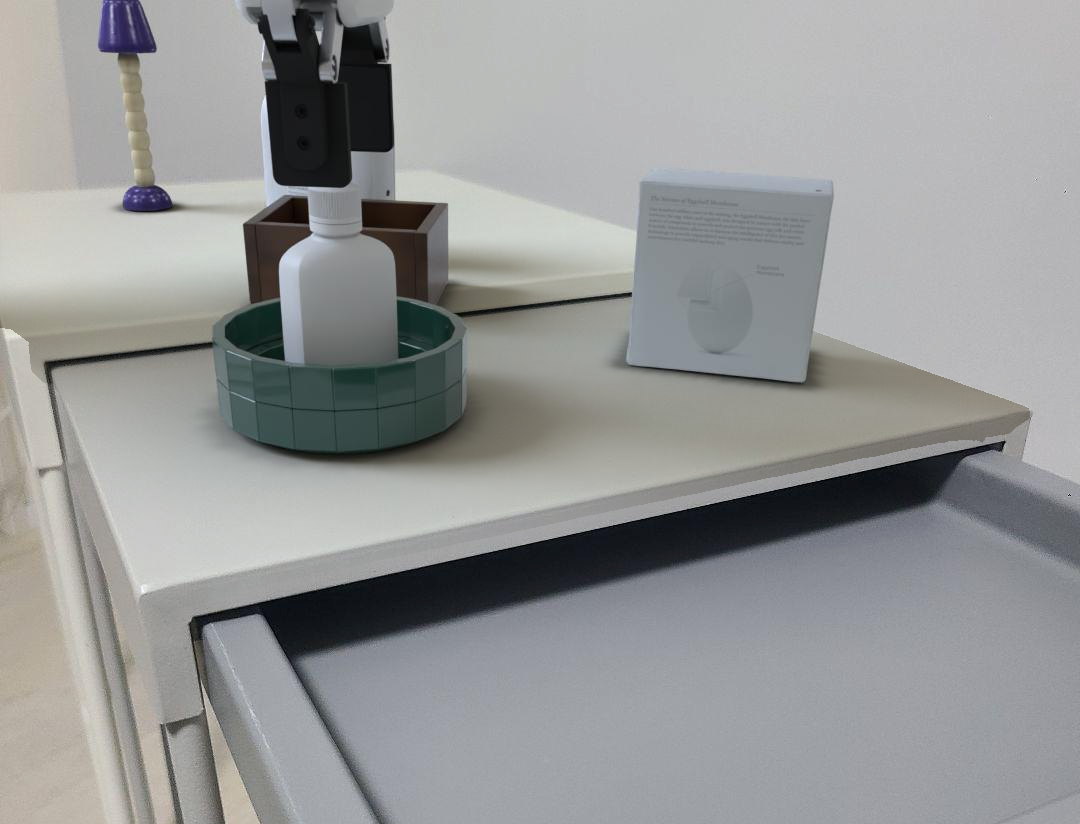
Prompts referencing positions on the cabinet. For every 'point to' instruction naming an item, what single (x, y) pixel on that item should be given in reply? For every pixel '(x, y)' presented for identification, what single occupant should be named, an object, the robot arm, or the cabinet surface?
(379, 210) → the holder
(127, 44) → the toy lamp
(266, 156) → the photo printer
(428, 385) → the bowl
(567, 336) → the cabinet surface
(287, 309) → the eye dropper bottle
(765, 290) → the cosmetics box
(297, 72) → the robot arm
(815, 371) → the cabinet surface
